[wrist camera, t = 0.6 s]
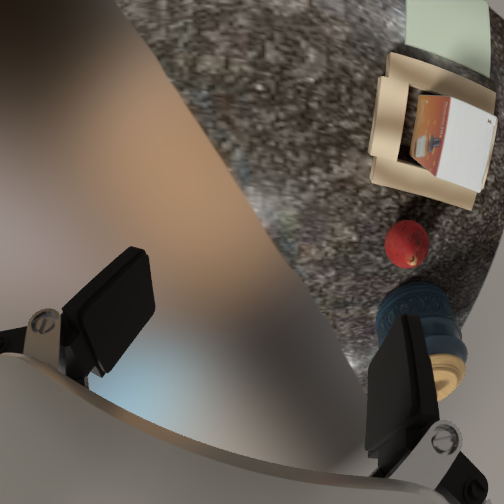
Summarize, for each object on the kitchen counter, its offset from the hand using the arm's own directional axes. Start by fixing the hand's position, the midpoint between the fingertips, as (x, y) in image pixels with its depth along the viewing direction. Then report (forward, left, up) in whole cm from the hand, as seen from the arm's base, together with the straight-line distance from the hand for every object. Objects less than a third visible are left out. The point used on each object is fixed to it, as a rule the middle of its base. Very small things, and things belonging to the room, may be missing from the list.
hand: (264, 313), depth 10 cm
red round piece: (+7, +13, -28) cm, 32 cm away
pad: (-23, +15, -28) cm, 39 cm away
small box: (-7, +14, -28) cm, 32 cm away
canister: (+20, +20, -28) cm, 40 cm away
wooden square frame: (-7, +14, -28) cm, 32 cm away
